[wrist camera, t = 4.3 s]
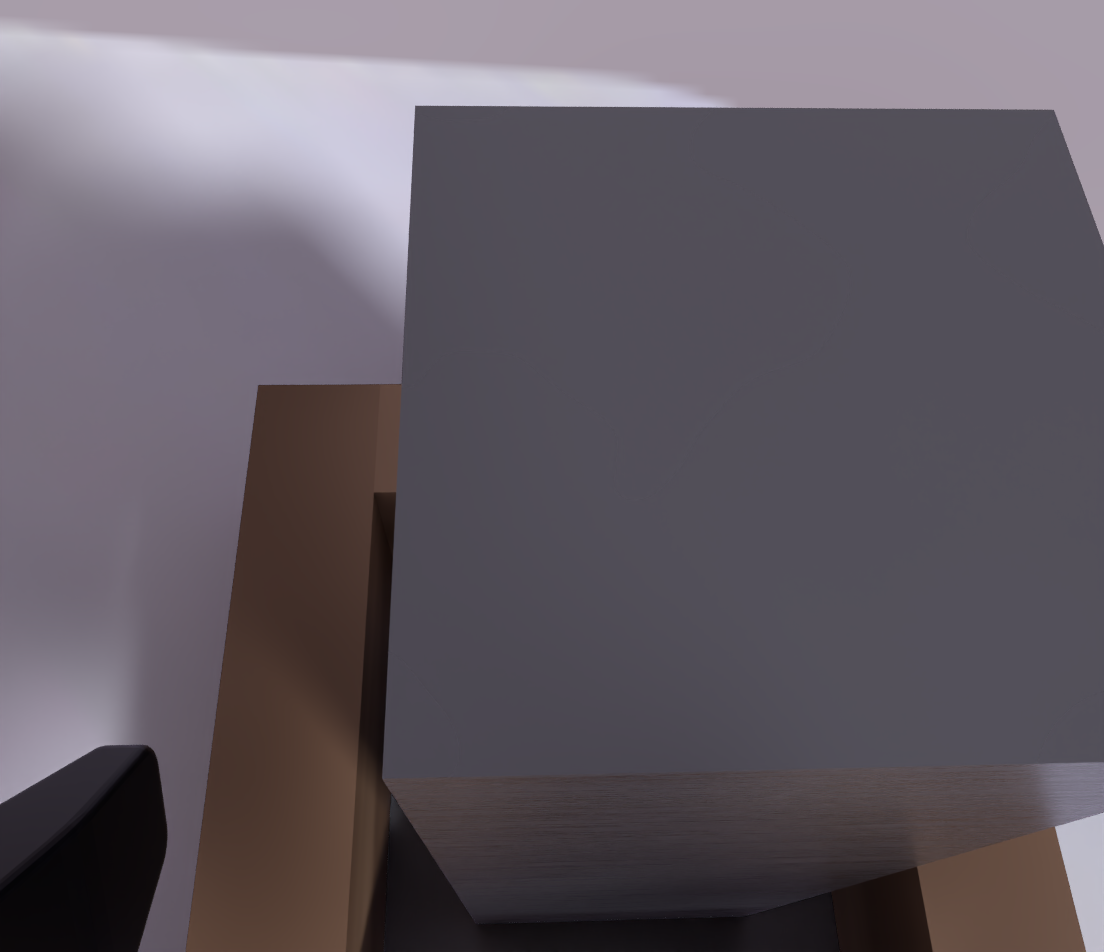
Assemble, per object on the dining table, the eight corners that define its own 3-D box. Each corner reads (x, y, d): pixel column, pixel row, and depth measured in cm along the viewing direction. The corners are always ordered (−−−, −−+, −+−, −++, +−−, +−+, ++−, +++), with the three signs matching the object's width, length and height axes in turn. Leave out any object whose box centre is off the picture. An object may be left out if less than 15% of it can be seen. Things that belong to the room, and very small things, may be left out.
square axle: (716, 655, 18) (1053, 110, 7) (745, 915, 16) (1291, 757, 5) (477, 659, 18) (414, 105, 7) (476, 924, 16) (382, 776, 5)
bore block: (867, 487, 20) (943, 381, 17) (1000, 1160, 15) (1151, 1215, 11) (305, 492, 20) (258, 385, 16) (236, 1192, 14) (146, 1260, 11)
